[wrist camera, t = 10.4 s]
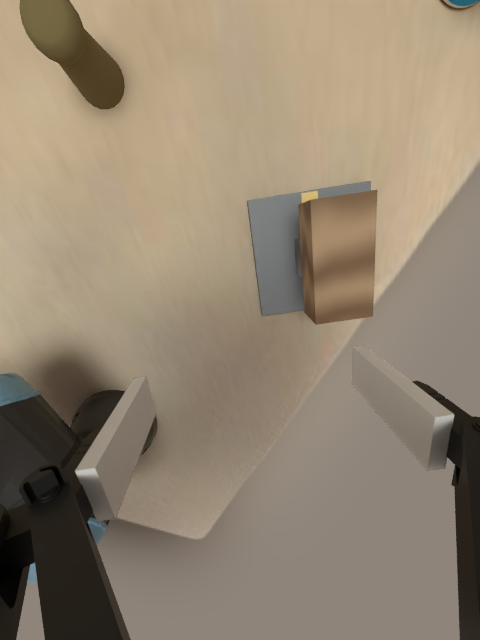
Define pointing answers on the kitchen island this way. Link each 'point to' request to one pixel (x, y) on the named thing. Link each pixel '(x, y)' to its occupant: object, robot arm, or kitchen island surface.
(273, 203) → the lock plate
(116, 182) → the kitchen island surface
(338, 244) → the wooden block on stand
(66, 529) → the robot arm
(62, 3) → the cork
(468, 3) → the beverage bottle
